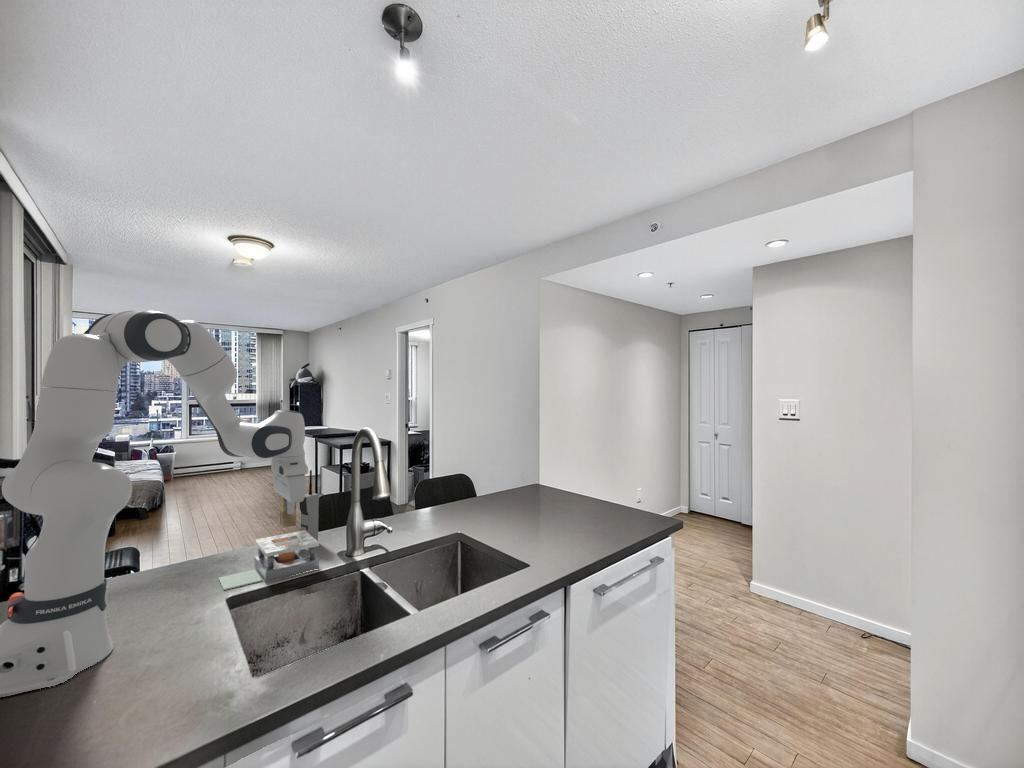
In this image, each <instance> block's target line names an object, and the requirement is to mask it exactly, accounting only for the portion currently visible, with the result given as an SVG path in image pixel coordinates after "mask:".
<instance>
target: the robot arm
mask: <svg viewBox="0 0 1024 768" xmlns="http://www.w3.org/2000/svg"><path fill="white" fill-rule="evenodd" d="M165 360H166V361H168V362H169V364H171V365H172V366H173V368H174V369H175V370H176V372H177V373H178V375H179V376H180V377H181V378H182V380H183V381H184V382H185V383H186V385H187V386H188V387H189V389H190V391H191V393H192V395H193V398H194V399H195V401H196V403H197V404H198V406H199V407H200V409H201V411H202V412H203V413H204V415H205V417H206V419H207V420H208V421H209V422H210V424H211V425H212V427H213V429H214V430H215V433H216V436H217V440H218V444H219V447H220V449H221V451H222V452H223V453H224V454H226V455H227V456H230V457H235V458H240V457H241V458H242V457H244V458H251V459H260V460H261V459H265V460H266V459H270V458H271V465H270V466H271V472H272V473H273V482H272V484H273V491H274V492H276V493H278V495H281V496H283V497H284V498H285V499H286V500H287V507H286V512H287V513H288V514H293V513H294V507H295V503H296V504H297V503H299V502H302V501H303V500H304V497H305V494H306V488H307V485H306V484H307V476H306V475H307V474H309V467H308V465H307V463H306V459H305V458H306V457H305V456H306V454H305V453H306V452H305V448H304V444H305V441H306V426H305V419H304V416H303V414H302V412H301V413H300V412H299V411H295V410H287V409H278V410H275V411H274V413H273V414H271V415H270V416H269V417H268V418H266V419H265V420H262V421H260V422H258V423H257V422H248V421H245V420H244V419H241V418H240V417H239V416H238V415H237V413H236V411H235V410H234V408H233V407H232V405H231V404H230V402H229V400H228V398H227V396H226V393H227V392H228V391H229V390H230V389H232V387H233V386H234V384H235V383H236V380H237V378H238V371H237V368H236V366H235V364H234V363H233V360H232V358H231V357H230V356H229V354H228V353H227V352H226V350H225V349H224V347H222V345H221V344H220V343H219V342H218V340H217V339H216V337H215V336H213V334H212V333H211V332H210V331H208V329H207V328H206V327H205V326H204V325H203V324H201V323H200V322H198V321H196V320H192V319H183V320H178V319H176V318H175V317H174V316H172V315H170V314H167V313H164V312H161V311H157V310H142V311H141V310H125V311H121V312H120V311H119V312H116V313H115V312H114V313H109V314H105V315H103V316H100V317H99V318H97V319H96V320H94V321H93V322H92V323H91V324H90V325H89V327H88V328H87V329H86V330H85V331H84V333H73V334H68V335H65V336H61V337H60V338H58V339H57V340H56V341H55V342H54V344H53V346H52V347H51V350H50V353H49V354H48V357H47V360H46V364H45V367H44V370H43V375H42V379H41V383H40V384H41V385H40V390H39V397H38V399H39V400H38V405H37V412H36V416H35V424H34V428H33V429H32V430H33V431H32V433H31V436H30V438H29V441H28V443H27V446H26V447H25V449H24V452H23V454H22V455H21V457H20V460H19V462H18V464H17V465H16V466H15V467H14V468H12V470H10V471H9V472H8V474H6V476H5V477H4V479H3V481H2V485H1V493H2V496H3V498H4V499H5V501H6V502H8V503H9V504H11V506H13V507H14V508H16V509H18V510H19V511H20V512H23V513H27V514H32V515H36V516H37V515H38V516H41V517H42V526H41V530H40V533H39V535H38V538H37V541H36V543H35V545H34V546H33V547H31V548H30V549H29V550H28V551H27V552H26V555H25V558H24V584H23V585H24V592H14V593H13V594H11V595H10V596H9V599H8V601H7V611H6V612H7V613H6V614H7V619H6V620H5V621H3V623H1V624H0V695H1V694H5V693H11V692H17V691H25V690H30V689H34V688H39V687H44V686H49V685H54V684H59V683H63V682H64V681H67V680H68V679H70V678H71V677H72V676H74V675H75V674H77V673H78V672H79V673H81V672H83V671H85V670H86V668H87V669H88V667H89V668H90V666H91V667H92V666H94V665H96V664H98V663H99V662H101V661H102V660H104V659H105V658H106V657H108V656H109V654H111V652H112V651H113V649H114V642H113V640H112V637H111V634H110V631H109V627H108V623H107V616H106V608H107V604H108V593H109V592H108V588H109V586H108V581H107V578H105V562H106V561H105V559H106V544H107V539H108V535H109V532H110V528H111V525H112V523H113V521H114V519H115V516H116V515H117V514H118V513H119V512H121V511H122V510H123V509H124V508H125V506H126V505H127V504H128V503H129V501H130V499H131V498H132V493H133V482H132V480H131V479H130V477H129V476H128V475H127V473H125V472H124V471H122V470H121V469H118V468H116V467H114V466H111V465H109V464H106V463H102V462H96V461H93V458H94V455H95V453H96V451H97V449H98V447H99V445H100V444H101V442H102V441H103V439H104V438H105V437H106V436H108V435H109V434H110V433H111V432H112V431H113V427H114V421H115V414H116V407H117V406H116V405H117V396H118V388H119V377H120V374H121V372H122V369H123V368H124V367H125V365H126V364H127V363H130V362H132V363H148V362H160V361H165ZM97 662H98V663H97ZM84 669H85V670H84ZM82 670H83V671H82ZM80 671H81V672H80ZM79 673H78V674H79ZM78 674H77V675H78ZM75 676H76V675H75ZM75 676H74V677H75ZM71 679H72V678H71ZM71 679H70V680H71ZM67 682H68V681H67ZM63 684H64V683H63Z"/></svg>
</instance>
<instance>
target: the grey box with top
mask: <svg viewBox="0 0 1024 768" xmlns="http://www.w3.org/2000/svg"><path fill="white" fill-rule="evenodd" d="M291 540H297V542H294V543H291V544H289V543H288V544H289V545H284V546H280V545H278V546H276V544H277V543H282V542H285V541H291ZM275 543H276V544H275ZM254 544H255V545H256V547H258V555H255V556H254V568H255V570H256V571H257V573H258V574H259V576H260V577H261V579H262V581H263V582H264V583H265V584H267V583H269V582H270V581H271V582H274V580H275V581H279V580H283V579H286V578H285V577H287V578H290V577H289V576H291V577H293V576H292V575H295V576H297V575H296V574H299V573H303V572H306V571H310V570H314V569H318V568H319V567H320V559H319V558H318V557H317V556H316V547H320V542H319V540H318V541H317V540H316V539H315V538H313V537H312V536H311V535H310V534H309V533H308V532H306V531H305V530H303V531H301V530H298V531H293V532H288V533H282V534H277V535H273V536H267V537H260V538H256V539H254ZM293 551H295V559H294V560H292V561H288V562H283V563H281V562H278V555H279V554H283V553H288V552H293ZM299 575H300V574H299ZM282 578H283V579H282ZM278 579H279V580H278ZM266 582H267V583H266Z"/></svg>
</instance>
